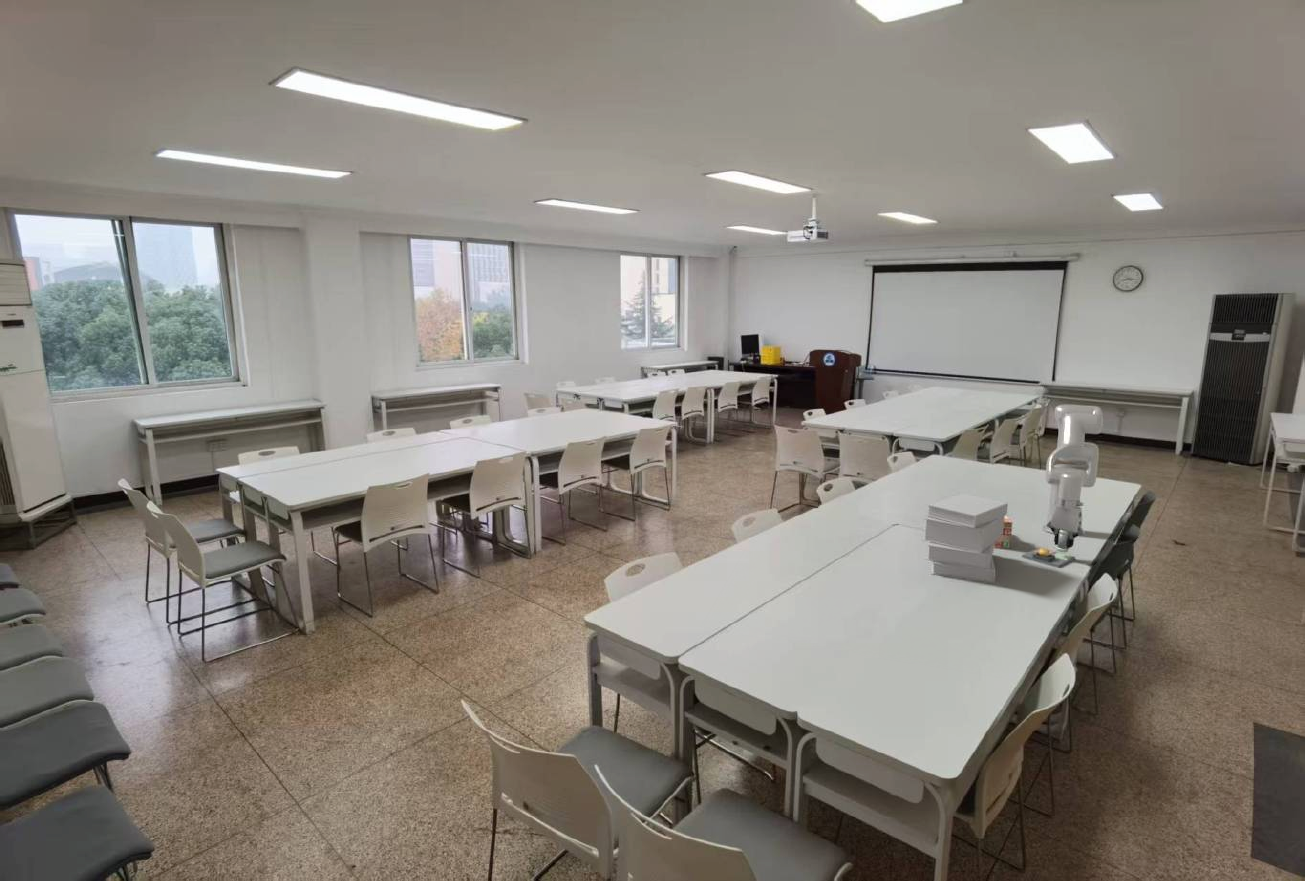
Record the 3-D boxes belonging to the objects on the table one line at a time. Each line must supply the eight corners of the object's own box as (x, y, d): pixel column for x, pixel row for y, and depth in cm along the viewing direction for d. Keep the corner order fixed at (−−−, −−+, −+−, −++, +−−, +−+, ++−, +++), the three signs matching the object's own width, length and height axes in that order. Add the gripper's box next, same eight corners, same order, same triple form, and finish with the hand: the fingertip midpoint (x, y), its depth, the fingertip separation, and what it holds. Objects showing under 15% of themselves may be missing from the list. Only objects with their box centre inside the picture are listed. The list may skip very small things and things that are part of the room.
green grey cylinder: (1059, 548, 271) (1062, 527, 270) (1070, 551, 268) (1072, 530, 266) (1055, 550, 269) (1057, 529, 267) (1065, 553, 266) (1068, 532, 264)
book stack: (999, 554, 275) (1005, 495, 270) (1007, 586, 243) (1014, 520, 239) (922, 545, 287) (926, 488, 282) (920, 574, 255) (925, 511, 250)
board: (1039, 549, 280) (1039, 544, 280) (1075, 559, 269) (1075, 553, 268) (1022, 557, 272) (1022, 551, 271) (1058, 567, 260) (1059, 561, 260)
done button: (1041, 552, 270) (1041, 548, 269) (1050, 555, 267) (1051, 550, 266) (1037, 554, 268) (1037, 550, 267) (1046, 557, 265) (1047, 552, 264)
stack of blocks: (978, 532, 303) (981, 506, 301) (993, 532, 302) (995, 507, 300) (994, 548, 283) (997, 520, 280) (1010, 548, 282) (1012, 521, 279)
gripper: (1095, 506, 260) (1089, 549, 264) (1050, 496, 274) (1045, 538, 277) (1087, 509, 256) (1081, 553, 259) (1042, 499, 269) (1037, 542, 273)
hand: (1063, 545), depth 268 cm, fingers closed on green grey cylinder, 3 cm apart
